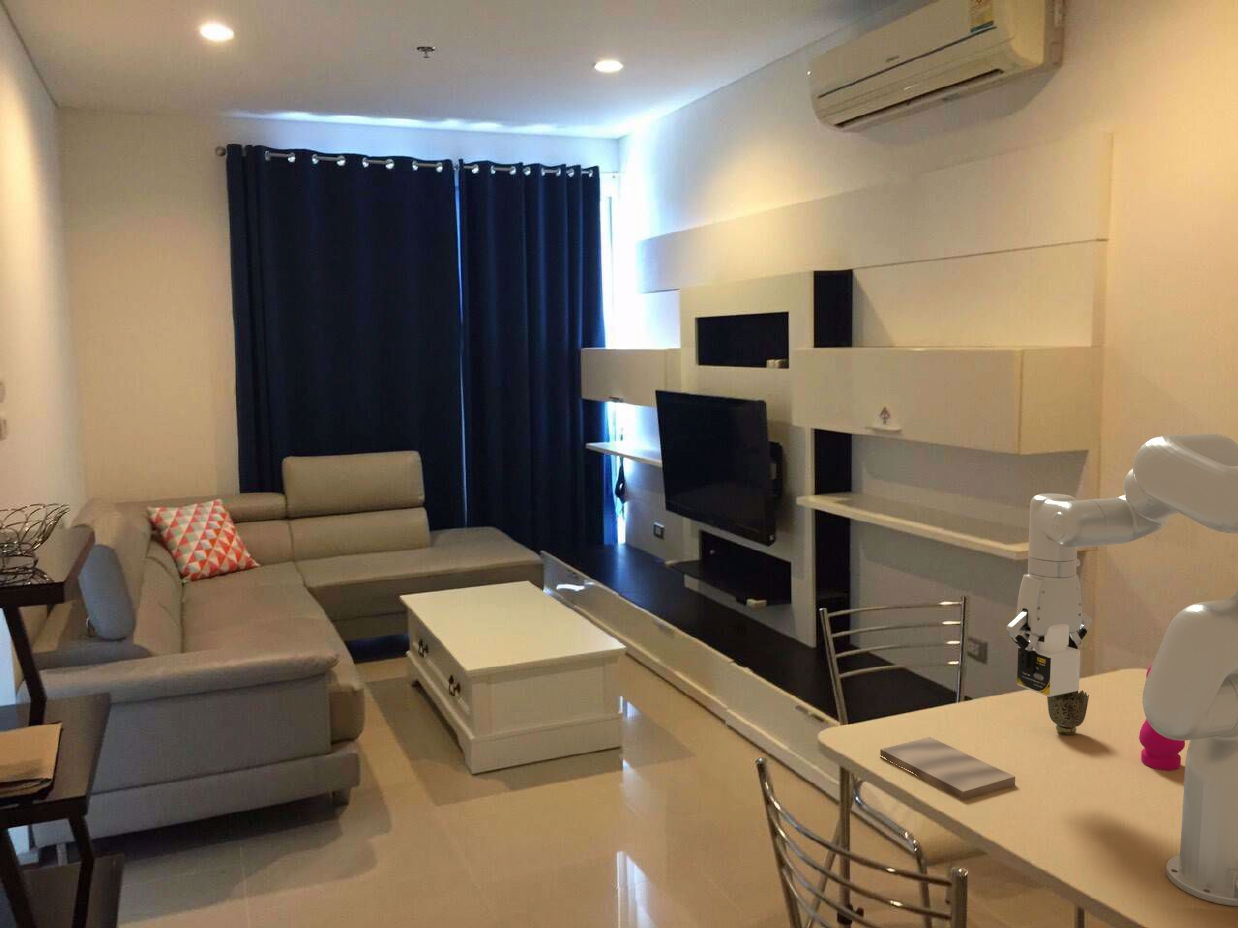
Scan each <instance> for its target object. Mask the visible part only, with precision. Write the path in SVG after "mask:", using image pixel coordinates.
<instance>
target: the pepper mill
mask: <svg viewBox="0 0 1238 928" xmlns="http://www.w3.org/2000/svg"><path fill="white" fill-rule="evenodd" d="M1151 667H1152V664H1151V665H1150V666H1149V667H1148V668H1147V671H1146V674H1145V677H1146V679H1147V677H1148V674H1149V672H1150V669H1151ZM1146 679H1145V680H1146ZM1138 740H1139V742H1140V744H1141V745H1142V747H1143V749H1142V750H1141V753H1140V755H1141V756H1140V760H1141V761H1140V762H1142V764H1144V765H1146V766H1147V767H1150V768H1153V769H1157V770H1162V771H1174V770H1175V771H1176V770H1178V769H1179V768H1181V764H1182V763H1181V762H1182V756H1181V755H1180V754H1179V753H1181V752H1182V751H1183V750H1184V748H1185V746H1186V740H1185V741H1180V740H1173V739H1169V738H1166V737H1164V736H1162V735H1161V734H1159V733H1158V732H1156V731H1155V730H1154V729H1153V728H1152V727H1151V725H1150V724H1149V722H1148V720H1147V718H1145V720H1144V721H1143V724H1142V725H1141V727H1140V730H1139V736H1138Z"/></svg>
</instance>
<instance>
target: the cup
mask: <svg viewBox="0 0 1238 928" xmlns="http://www.w3.org/2000/svg"><path fill="white" fill-rule="evenodd" d="M1046 698H1047V701H1046V703H1047V708H1048V714H1049V718H1050V719H1051V721H1052V722H1053V723H1054V724H1055V725H1056V726H1055V729H1056V731H1057V732H1058V733H1059V734H1061V735H1064V736H1072V735H1075V734H1076V733H1077V729H1078V728H1077V727H1079V726H1081V725H1082V724H1083V723H1084V721H1085V718H1086V715H1087V710H1088V704H1089V699H1090V694H1087V691H1085V692H1084V690H1083V689H1082V690H1081V691H1079V690H1078V691H1075V692H1070V693H1065V694H1060V695H1056V696H1051V697H1048V696H1046Z"/></svg>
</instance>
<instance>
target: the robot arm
mask: <svg viewBox="0 0 1238 928" xmlns="http://www.w3.org/2000/svg"><path fill="white" fill-rule="evenodd" d="M1123 492H1124V494H1123V495H1120V496H1117V497H1110V498H1109V497H1107V498H1105V497H1104V498H1093V499H1092V498H1091V499H1089V498H1088V499H1081V500H1079V499H1077V498H1076V497H1074V496H1072V495H1069V494H1064V493H1063V494H1062V493H1051V492H1050V493H1049V492H1048V493H1039V494H1036V495H1034V496H1032V498H1031V500H1030V502H1029V525H1028V526H1029V527H1028V529H1029V530H1028V532H1029V533H1028V555H1027V556H1028V557H1027V558H1028V559H1027V574H1023V576H1022V580H1021V583H1020V586H1019V590H1018V591H1019V592H1018V596H1017V605H1016V614H1015V615H1016V616H1015V618H1014V619H1013V620H1012V621H1010V623H1008V624H1007V625H1006V627H1005V629H1006V631H1007V633H1008V634H1009V635H1010V637H1011V639H1012V641H1013V642H1014V643H1015V644H1016V646H1017V648H1018V647H1020V669H1021V670H1023V671H1025V672H1027V673H1029V674H1035V671H1036V651H1034V650H1033V648H1034V646H1035V644H1036V642H1037V641H1038V639H1039V637H1041V636H1045V635H1047V631H1048V628H1049V627H1051V626H1053V625H1056V624H1067V625H1068V626H1069V644H1068V647H1071V648H1074V649H1078V650H1079V648H1078V647H1080V646H1081V645H1082V641H1083V639H1084V638H1085V636H1086V635H1087V634H1088V630H1089V629H1090V627H1091V626H1092V624H1093V623H1094V622H1093V621H1094V620H1093V618H1092V617H1090V616H1089V615H1088V614H1086V613H1085V612H1084V611H1083V604H1082V603H1083V600H1082V591H1081V588H1082V587H1081V583H1080V579H1079V575H1078V574H1077V567H1080V566H1081V560H1080V559H1079V558H1078V549H1079V548H1080V549H1081V548H1091V547H1099V546H1100V547H1101V546H1102V547H1103V546H1111V545H1112V546H1113V545H1114V546H1115V545H1123V544H1128V543H1131V542H1134V541H1137V540H1139V539H1141V538H1144V537H1146V536H1148V535H1151V534H1153V533H1156V532H1157V531H1159V530H1161V529H1163V528H1164V527H1165V526H1166V525H1167V523H1169V521H1170V519H1171V516H1174V515H1176V514H1178V513H1179V514H1180V515H1183V516H1185V517H1187V518H1189V519H1191V520H1192V521H1194V522H1196V523H1198V524H1200V525H1202V526H1204V527H1206V528H1208V529H1210V530H1213V531H1217V532H1220V533H1225V534H1238V443H1237V441H1235V440H1233V439H1232V438H1231V437H1227V436H1225V435H1222V434H1218V433H1208V432H1207V433H1206V432H1204V433H1203V432H1202V433H1185V434H1183V433H1182V434H1165V435H1160V436H1155V437H1153V438H1151V439H1149V440H1148V441H1146V442H1145V443H1144V444H1142V445H1141V447H1140V448H1138V450H1137V451H1136V454H1135V455H1134V459H1133V462H1132V468H1131V469H1130V470H1129V471H1128V472H1127V474H1126V475H1125V477H1124V479H1123ZM1020 631H1022V632H1020ZM1030 636H1031V637H1030ZM1151 665H1152V667H1151V669H1150V672H1149V674H1148V677H1147V679H1145V683H1144V686H1143V691H1142V707H1143V713H1144V716H1145V719H1147V720H1148V722H1149V724H1150V725H1151V727H1152V728H1153V729H1154V730H1155V731H1156V732H1158V733H1159V734H1161V735H1162V736H1164V737H1166V738H1169V739H1173V740H1180V741H1185V742H1186V741H1189V742H1188V747H1187V750H1186V755H1185V756H1186V757H1185V762H1184V764H1185V765H1184V766H1185V767H1184V778H1183V780H1184V781H1183V793H1182V794H1183V795H1182V796H1183V797H1182V810H1181V811H1182V812H1181V830H1180V846H1179V849H1180V850H1179V854H1177V855H1175V856H1172V857H1171V858H1170V859H1168V861H1167V862H1166V875H1167V877H1168V879H1169V880H1170V881H1171V882H1172V883H1173V884H1174V885H1175V886H1177V887H1178V888H1179V889H1181V890H1182V891H1184V892H1185V893H1187V894H1189V895H1192V896H1194V897H1196V898H1199V899H1202V900H1204V901H1206V902H1207V901H1208V902H1211V903H1215V904H1219V905H1226V906H1233V907H1238V588H1236V591H1235V592H1234V593H1233V594H1232V595H1231V596H1228V597H1227V598H1223V599H1218V600H1208V601H1202V602H1201V601H1200V602H1196V603H1193V604H1190V605H1188V606H1186V607H1184V608H1183V609H1182V610H1181V611H1179V612H1178V613H1177V614H1176V615H1175V616H1174V617H1173V619H1172V620H1171V622H1170V623H1169V625H1168V627H1167V628H1166V631H1165V633H1164V636H1163V638H1162V640H1161V642H1160V645H1159V648H1158V650H1157V652H1156V655H1155V657H1154V660H1153V662H1152V664H1151Z"/></svg>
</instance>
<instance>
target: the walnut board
mask: <svg viewBox="0 0 1238 928" xmlns="http://www.w3.org/2000/svg"><path fill="white" fill-rule="evenodd" d="M880 755H881V756H883V757H885V758H886V759H887V760H889V761H891V762H893V763H895V764H897V765H898V766H900V767H903V768H905V769H907V770H909V771H911V772H913V773H914V774H916V775H917V776H919V777H920V778H919V777H918V778H919V779H921V778H922V780H923V779H924V780H923V781H925V780H926V781H925V782H927V783H929V784H931V785H933V786H935V787H937V788H939V789H941V790H942V791H945V792H946V793H949V794H950V795H952V796H954V797H956V798H958V799H960V800H962V801H964V800H965V801H966V800H968V799H971V798H975V797H979V796H982V795H986V794H990V793H992V792H993V793H994V792H997V791H998V790H1002V789H1006V788H1010V787H1013V786H1015V785H1016V776H1015V775H1012V774H1011V773H1008V772H1007V771H1004V770H1002V769H1000V768H998V767H996V766H993V765H991V764H989V763H987V762H985V761H983V760H981V759H979V758H976V757H974V756H972V755H969V754H967V753H965V752H963V751H962V750H959V749H957V748H955V747H952V746H951V745H948V744H946V743H944V742H942V741H940V740H937V739H935V738H933V737H931V736H929V737H923V738H920V739H915V740H912V741H909V742H903V743H900V744H897V745H896V744H895V745H893V746H889V747H888V746H887V747H883V748H880V754H879V756H880ZM887 760H886V761H887ZM898 766H897V767H898ZM900 767H899V768H900ZM914 774H913V775H914ZM917 776H916V777H917Z"/></svg>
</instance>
